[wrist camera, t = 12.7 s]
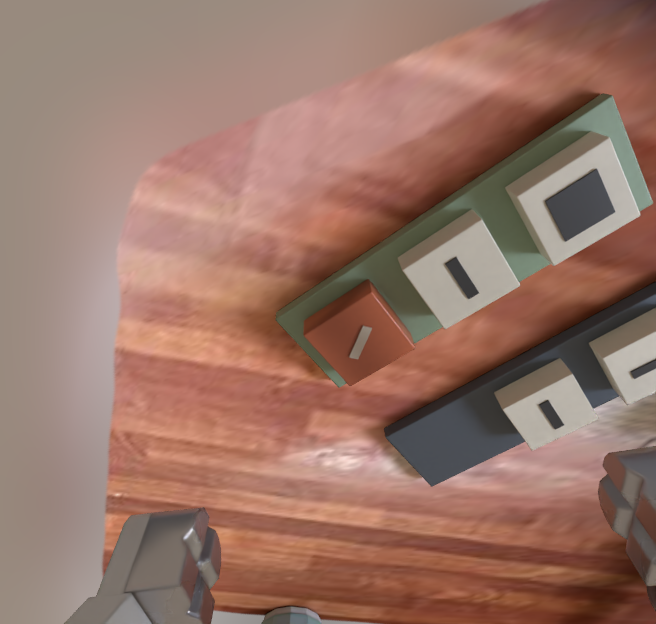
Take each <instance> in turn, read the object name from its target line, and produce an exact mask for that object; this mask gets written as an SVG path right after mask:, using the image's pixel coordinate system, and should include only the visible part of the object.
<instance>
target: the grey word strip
mask: <svg viewBox="0 0 656 624" xmlns="http://www.w3.org/2000/svg"><path fill="white" fill-rule="evenodd" d="M655 392H656V282H655V283H653V284H651V285H649V286H647V287H645V288H643V289H642V290H640V291H638V292H636V293H634V294H632V295H630V296H629V297H627V298H625V299H623V300H621V301H619V302H617V303H616V304H614V305H612V306H610V307H608V308H606V309H604V310H603V311H601V312H599V313H597V314H595V315H593V316H592V317H590V318H588V319H586V320H584V321H582V322H580V323H579V324H577V325H575V326H573V327H571V328H569V329H567V330H566V331H564V332H562V333H560V334H558V335H556V336H554V337H553V338H551V339H549V340H547V341H545V342H543V343H541V344H540V345H538V346H536V347H534V348H532V349H530V350H529V351H527V352H525V353H523V354H521V355H519V356H517V357H516V358H514V359H512V360H510V361H508V362H506V363H504V364H503V365H501V366H499V367H497V368H495V369H493V370H491V371H490V372H488V373H486V374H484V375H482V376H480V377H478V378H477V379H475V380H473V381H471V382H469V383H467V384H466V385H464V386H462V387H460V388H458V389H456V390H454V391H453V392H451V393H449V394H447V395H445V396H443V397H441V398H440V399H438V400H436V401H434V402H432V403H430V404H428V405H427V406H425V407H423V408H421V409H419V410H417V411H415V412H414V413H412V414H410V415H408V416H406V417H404V418H403V419H401V420H399V421H397V422H395V423H393V424H391V425H390V426H388V427H386V428H384V431H385V437H386V439H387V440H388V441H389V442H390V443H391V444H392V445H393V446H394V447H395V448H396V449H397V450H398V451H399V452H400V453H401V455H402V456H403V457H404V458H405V459H406V460H407V461H408V462H409V463H410V464H411V465H412V466H413V467H414V468H415V469H416V471H417V472H418V473H419V474H420V475H421V476H422V477H423V478H424V479H425V480H426V481H427V482H428V483H429V484H430V486H434V485H436V484H438V483H440V482H442V481H444V480H446V479H449V478H451V477H453V476H455V475H457V474H459V473H461V472H463V471H465V470H467V469H469V468H471V467H473V466H475V465H478V464H480V463H482V462H484V461H486V460H488V459H490V458H492V457H494V456H496V455H498V454H500V453H502V452H504V451H507V450H509V449H511V448H513V447H515V446H517V445H519V444H521V443H523V442H526V443H527V444H528V446H529V447H530V448H531V450H532V451H533V450H535V449H537V448H539V447H541V446H543V445H546V444H548V443H550V442H552V441H554V440H556V439H558V438H560V437H562V436H564V435H567V434H569V433H571V432H573V431H575V430H577V429H579V428H581V427H583V426H586V425H588V424H590V423H592V422H594V421H596V420H598V419H599V418H598V417H597V415H596V413H595V411H594V410H593V408H596V407H598V406H600V405H602V404H604V403H606V402H608V401H610V400H612V399H614V398H616V397H618V396H620V397H621V399H622V400H623V401H624V402H625V403H626V404H627V405H630V404H632V403H634V402H636V401H638V400H640V399H642V398H644V397H646V396H649V395H651V394H653V393H655Z"/></svg>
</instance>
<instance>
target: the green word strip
mask: <svg viewBox="0 0 656 624" xmlns="http://www.w3.org/2000/svg"><path fill="white" fill-rule="evenodd" d="M651 204H653V201H652V199H651V196H650V193H649V191H648V188H647V186H646V183H645V180H644V178H643V175H642V172H641V170H640V167H639V164H638V162H637V159H636V156H635V154H634V151H633V149H632V146H631V143H630V141H629V138H628V135H627V133H626V130H625V127H624V125H623V122H622V120H621V117H620V114H619V112H618V109H617V106H616V104H615V101H614V98H613V96H612V95H608V94H601V95H599V96H598V97H596V98H595V99H593V100H592V101H590V102H589V103H587V104H586V105H584V106H583V107H581V108H580V109H578V110H577V111H575V112H574V113H572V114H571V115H569V116H568V117H566V118H565V119H563V120H562V121H560V122H559V123H558V124H556V125H555V126H553V127H552V128H550V129H549V130H547V131H546V132H544V133H543V134H541V135H540V136H538V137H537V138H535V139H534V140H532V141H531V142H529V143H528V144H526V145H525V146H523V147H522V148H520V149H519V150H517V151H516V152H514V153H513V154H511V155H510V156H508V157H507V158H505V159H504V160H502V161H501V162H499V163H498V164H496V165H495V166H493V167H492V168H490V169H489V170H488V171H486V172H485V173H483V174H482V175H480V176H479V177H477V178H476V179H474V180H473V181H471V182H470V183H468V184H467V185H465V186H464V187H462V188H461V189H459V190H458V191H456V192H455V193H453V194H452V195H450V196H449V197H447V198H446V199H444V200H443V201H441V202H440V203H438V204H437V205H435V206H434V207H432V208H431V209H429V210H428V211H426V212H425V213H423V214H422V215H420V216H419V217H418V218H416V219H415V220H413V221H412V222H410V223H409V224H407V225H406V226H404V227H403V228H401V229H400V230H398V231H397V232H395V233H394V234H392V235H391V236H389V237H388V238H386V239H385V240H383V241H382V242H380V243H379V244H377V245H376V246H374V247H373V248H371V249H370V250H368V251H367V252H365V253H364V254H362V255H361V256H359V257H358V258H356V259H355V260H353V261H352V262H350V263H349V264H348V265H346V266H345V267H343V268H342V269H340V270H339V271H337V272H336V273H334V274H333V275H331V276H330V277H328V278H327V279H325V280H324V281H322V282H321V283H319V284H318V285H316V286H315V287H313V288H312V289H310V290H309V291H307V292H306V293H304V294H303V295H301V296H300V297H298V298H297V299H295V300H294V301H292V302H291V303H289V304H288V305H286V306H285V307H283V308H282V309H280V310H279V311H278V312H276V321H277V322H278V323H279V324H280V325H281V326H282V327H283V328H284V330H285V331H286V332H287V333H288V334H289V335H290V336H291V337H292V338H293V339H294V340H295V341H296V342H297V343H298V345H299V346H300V347H301V348H302V349H303V350H304V351H305V352H306V353H307V354H308V355H309V356H310V357H311V358H312V359H313V361H314V362H315V363H316V364H317V365H318V366H319V367H320V368H321V369H322V370H323V371H324V372H325V373H326V374H327V375H328V377H329V378H330V379H331V380H332V381H333V382H334V383H335V384H336V385H337V386H338V387H341V386H343V385H344V384H346V382H345V380H344V379H343V378H342V377H341V376H340V375H339V374H338V373H337V372H336V371H335V370H334V368H333V367H332V366H331V365H330V364H329V363H328V362H327V361H326V360H325V359H324V358H323V356H322V355H321V354H320V353H319V352H318V351H317V350H316V349H315V348H314V347H313V346H312V344H311V343H310V342H309V341H308V340H307V339H306V338H305V337H304V335H303V331H304V320H306V319H307V318H309V317H310V316H312V315H313V314H315V313H316V312H318V311H319V310H321V309H322V308H324V307H325V306H327V305H329V304H330V303H332V302H333V301H335V300H336V299H338V298H339V297H341V296H342V295H344V294H345V293H347V292H348V291H350V290H352V289H353V288H355V287H356V286H358V285H359V284H361V283H362V282H364V281H365V280H367V279H369V280H370V281H371V282H372V283H373V285H374V286H375V287H376V289H377V290H378V291H379V292H380V294H381V295H382V296H383V298H384V299H385V300H386V302H387V303H388V304H389V305H390V307H391V308H392V309H393V311H394V312H395V313H396V315H397V316H398V317H399V318H400V320H401V321H402V322H403V324H404V325H405V326H406V327H407V329H408V330H409V331H410V333H411V336H412V339H413V342H414V343H416V342H418V341H419V340H421V339H423V338H425V337H426V336H428V335H430V334H431V333H433V332H435V331H437V330H438V329H440V328H442V327H443V328H444V329H447V328H449V327H450V326H452V325H454V324H456V323H457V322H459V321H461V320H462V319H464V318H466V317H468V316H469V315H471V314H473V313H474V312H476V311H478V310H480V309H481V308H483V307H485V306H486V305H488V304H490V303H492V302H493V301H495V300H497V299H498V298H500V297H502V296H503V295H505V294H507V293H509V292H510V291H512V290H514V289H515V288H517V287H519V286H520V283H519V282H520V281H522V280H523V279H525V278H527V277H529V276H530V275H532V274H534V273H535V272H537V271H539V270H540V269H542V268H544V267H546V266H547V265H549V264H552V265H553V266H555V265H557V264H558V263H560V262H562V261H563V260H565V259H567V258H569V257H570V256H572V255H574V254H575V253H577V252H579V251H581V250H582V249H584V248H586V247H587V246H589V245H591V244H593V243H594V242H596V241H598V240H599V239H601V238H603V237H605V236H606V235H608V234H610V233H611V232H613V231H615V230H617V229H618V228H620V227H622V226H623V225H625V224H627V223H629V222H630V221H632V220H634V219H635V218H637V217H639V216H640V212H639V211H641V210H643V209H644V208H646V207H648V206H650V205H651Z"/></svg>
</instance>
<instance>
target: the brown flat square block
mask: <svg viewBox="0 0 656 624" xmlns="http://www.w3.org/2000/svg"><path fill="white" fill-rule="evenodd" d="M303 335H304V337H305V338H306V339H307V340H308V341H309V342H310V343H311V344H312V346H313V347H314V348H315V349H316V350H317V351H318V352H319V353H320V354H321V355H322V356H323V358H324V359H325V360H326V361H327V362H328V363H329V364H330V365H331V366H332V367H333V368H334V370H335V371H336V372H337V373H338V374H339V375H340V376H341V377H342V378H343V379H344V380H345V382H346V383H347V384H348V385H349V386H352V385H354V384H355V383H357V382H359V381H360V380H362V379H364V378H366V377H367V376H369V375H371V374H372V373H374V372H376V371H378V370H379V369H381V368H383V367H384V366H386V365H388V364H390V363H391V362H393V361H395V360H396V359H398V358H400V357H402V356H403V355H405V354H407V353H408V352H410V351H412V350H414V349H415V345H414V342H413V339H412V336H411V333H410V331H409V330H408V329H407V327H406V326H405V325H404V324H403V322H402V321H401V320H400V318H399V317H398V316H397V315H396V313H395V312H394V311H393V309H392V308H391V307H390V305H389V304H388V303H387V302H386V300H385V299H384V298H383V296H382V295H381V294H380V292H379V291H378V290H377V289H376V287H375V286H374V285H373V283H372V282H371V281H370V280H369V279H367V280H365V281H364V282H362V283H361V284H359V285H358V286H356V287H355V288H353V289H352V290H350V291H348V292H347V293H345V294H344V295H342V296H341V297H339V298H338V299H336V300H335V301H333V302H332V303H330V304H329V305H327V306H325V307H324V308H322V309H321V310H319V311H318V312H316V313H315V314H313V315H312V316H310V317H309V318H307V319H306V320H304V331H303Z"/></svg>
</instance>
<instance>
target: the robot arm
mask: <svg viewBox="0 0 656 624" xmlns="http://www.w3.org/2000/svg"><path fill="white" fill-rule="evenodd" d="M603 467H604V469H605V470H606V472H607V473H608V474H607V475H606V476H605V477H604V478H603V479H602V480H601V481H600V483H599V490H598V495H599V500H600V506H601V509H602V511H603V513H604V516H605V518H606V520H607V521H608V523H609V525H610V527H611V528H612V530H613V531H615V532H616V533H618V534H619V535H621V536H622V537H624V538H625V539H627V546H626V553H627V555H628V556H629V558H630V560H631V561H632V563H633V565H634V566H635V568H636V569H637V571H638V573H639V574H640V576H641V578H642V579H643V581H644V582H645V584H646V586H654V585H656V446H653V447H646V448H639V449H632V450H626V451H619V452H612V453H608V454H607V455H606V456H605V458H604V463H603ZM208 522H209V516H208V514H207V512H206V510H205V508H204V507H203V508H194V509H184V510H174V511H165V512H155V513H147V514H139V515H131V516H130V517H129V518H128V520H127V521H126V522H125V523H124V526H123V528H122V531H121V533H120V536H119V539H118V541H117V544H116V546H115V549H114V551H113V554H112V557H111V559H110V562H109V564H108V567H107V570H106V572H105V575H104V577H103V580H102V582H101V585H100V588H99V590H98V593H97V595H96V597H90V598H88V599H87V600H86V601H85V602H84V603H83V604H82V605H81V606H80V607H79V608H78V610H77V611H76V612H75V613H74V614H73V615H72V616H71V617H70V618H69V619H68V620H67V621H66V622H65V623H64V624H211V619H212V614H213V609H214V603H215V600H214V598H213V596H212V594H211V592H210V589H211V588H212V586H213V585H214V584H215V582H216V581H217V580H218V579H219V573H220V567H221V547H220V542H219V538H218V535H217V533H216V531H215V530H213V529H212V528H210V527H208Z"/></svg>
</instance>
